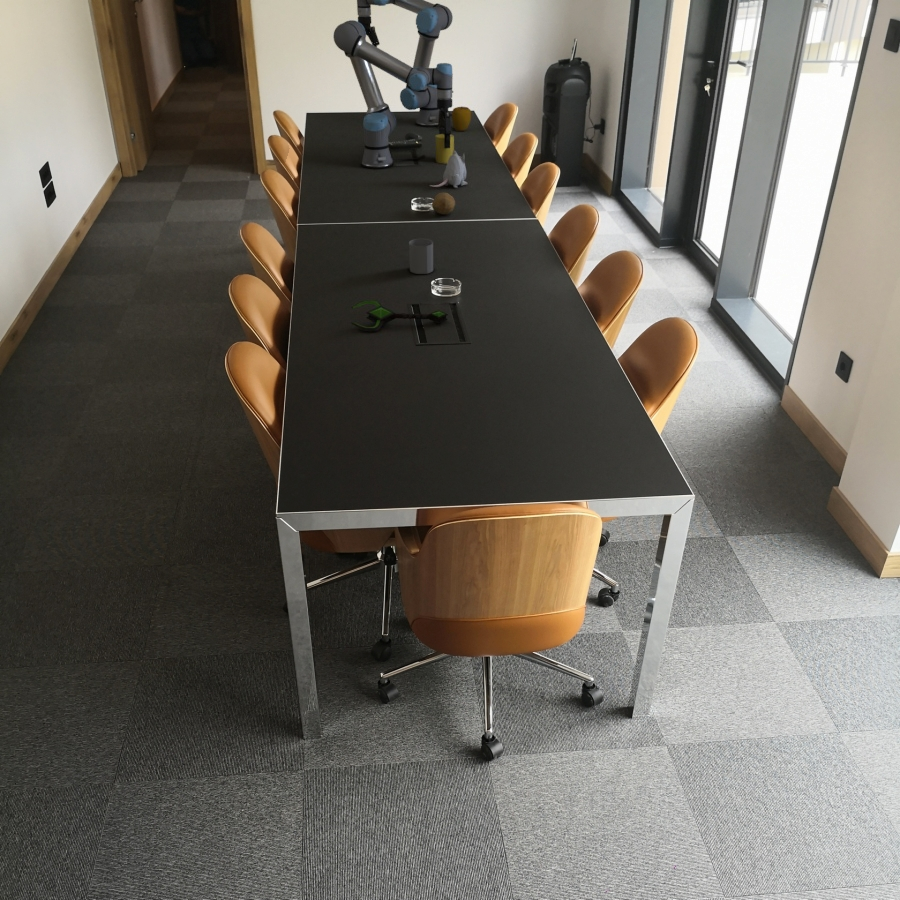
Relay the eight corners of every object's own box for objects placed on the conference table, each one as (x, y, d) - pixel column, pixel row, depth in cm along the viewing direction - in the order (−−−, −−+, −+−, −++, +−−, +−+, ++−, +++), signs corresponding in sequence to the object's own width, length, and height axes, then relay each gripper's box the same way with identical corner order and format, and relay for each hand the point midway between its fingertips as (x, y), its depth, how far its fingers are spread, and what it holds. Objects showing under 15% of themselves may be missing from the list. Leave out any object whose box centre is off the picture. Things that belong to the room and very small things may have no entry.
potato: (453, 208, 369) (453, 189, 365) (456, 218, 357) (456, 199, 353) (431, 208, 368) (430, 189, 364) (432, 218, 356) (432, 199, 352)
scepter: (447, 295, 270) (351, 293, 268) (448, 326, 263) (349, 324, 261) (446, 308, 275) (351, 306, 273) (447, 339, 268) (350, 337, 266)
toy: (472, 184, 399) (472, 151, 391) (436, 195, 384) (436, 161, 376) (457, 180, 404) (458, 147, 396) (422, 191, 389) (421, 157, 381)
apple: (471, 132, 486) (471, 108, 479) (451, 132, 486) (451, 108, 479) (470, 128, 495) (471, 104, 488) (452, 128, 495) (452, 104, 488)
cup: (409, 265, 311) (408, 238, 306) (432, 265, 312) (431, 238, 307) (410, 274, 304) (409, 246, 299) (433, 273, 305) (433, 246, 299)
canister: (433, 162, 432) (433, 137, 425) (438, 158, 439) (438, 133, 433) (451, 164, 430) (451, 138, 423) (455, 159, 437) (456, 134, 431)
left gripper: (457, 102, 410) (457, 150, 422) (446, 93, 429) (446, 139, 441) (442, 103, 408) (442, 151, 420) (431, 94, 428) (432, 140, 439)
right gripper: (344, 14, 489) (346, 55, 500) (375, 18, 475) (376, 60, 486) (354, 13, 493) (356, 54, 505) (384, 17, 479) (386, 58, 491)
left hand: (444, 145), depth 431 cm, fingers open, 11 cm apart
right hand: (366, 57), depth 496 cm, fingers open, 13 cm apart
